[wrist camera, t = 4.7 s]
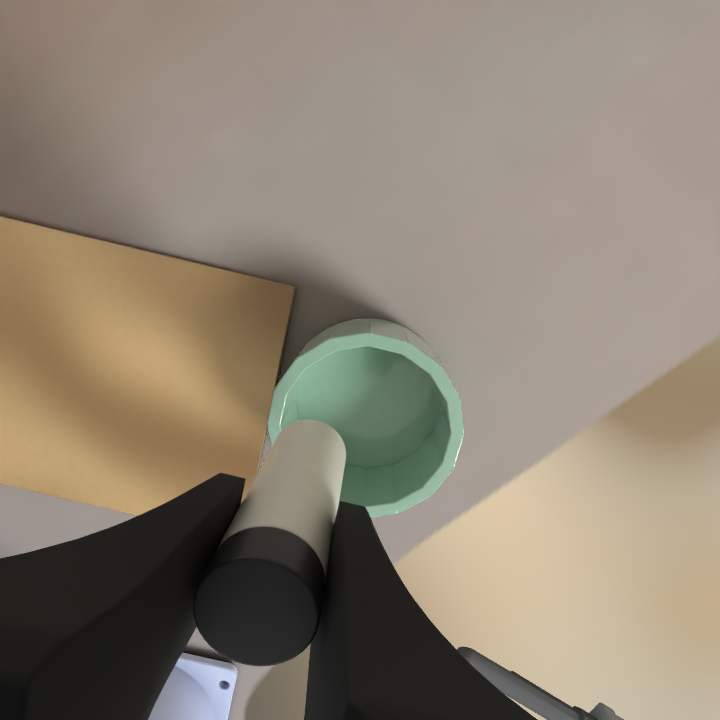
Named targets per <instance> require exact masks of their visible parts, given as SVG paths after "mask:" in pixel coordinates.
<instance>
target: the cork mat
mask: <svg viewBox="0 0 720 720" xmlns="http://www.w3.org/2000/svg"><path fill="white" fill-rule="evenodd" d="M295 288H296V287H295V286H292V285H288V284H284V283H280V282H276V281H271V280H267V279H263V278H259V277H255V276H250V275H246V274H242V273H238V272H234V271H229V270H225V269H221V268H217V267H213V266H209V265H204V264H200V263H196V262H192V261H188V260H183V259H179V258H175V257H171V256H167V255H162V254H158V253H154V252H150V251H146V250H142V249H137V248H133V247H129V246H125V245H121V244H116V243H112V242H108V241H104V240H100V239H95V238H91V237H87V236H83V235H79V234H75V233H70V232H66V231H62V230H58V229H54V228H49V227H45V226H41V225H37V224H33V223H28V222H24V221H20V220H16V219H12V218H8V217H3V216H0V484H4V485H8V486H12V487H17V488H21V489H25V490H30V491H34V492H38V493H43V494H47V495H51V496H56V497H60V498H64V499H69V500H73V501H77V502H82V503H86V504H90V505H95V506H99V507H103V508H108V509H112V510H116V511H121V512H125V513H130V514H134V515H138V516H139V515H141V514H143V513H145V512H147V511H149V510H151V509H154V508H156V507H158V506H160V505H162V504H164V503H166V502H168V501H170V500H172V499H174V498H176V497H177V496H179V495H181V494H183V493H185V492H187V491H188V490H190V489H192V488H194V487H195V486H197V485H199V484H201V483H203V482H204V481H206V480H208V479H210V478H211V477H213V476H215V475H217V474H219V473H224V474H229V475H233V476H237V477H241V478H246V480H245V485H244V490H243V495H242V500H241V503H242V501H243V499H244V498H245V496H246V494H247V492H248V490H249V488H250V486H251V485H252V483H253V481H254V479H255V477H256V475H257V473H258V471H259V466H260V462H261V457H262V452H263V447H264V442H265V437H266V432H267V422H268V417H269V412H270V407H271V402H272V397H273V392H274V390H275V387H276V382H277V377H278V372H279V367H280V362H281V358H282V353H283V348H284V343H285V338H286V333H287V328H288V323H289V318H290V313H291V308H292V303H293V298H294V293H295Z"/></svg>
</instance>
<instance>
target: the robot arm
mask: <svg viewBox="0 0 720 720" xmlns="http://www.w3.org/2000/svg"><path fill="white" fill-rule="evenodd" d="M245 480H246V478H241V477H237V476H233V475H229V474H224V473H219V474H217V475H215V476H213V477H211V478H210V479H208V480H206V481H204V482H203V483H201V484H199V485H197V486H195V487H194V488H192V489H190V490H188V491H187V492H185V493H183V494H181V495H179V496H177V497H176V498H174V499H172V500H170V501H168V502H166V503H164V504H162V505H160V506H158V507H156V508H154V509H151V510H149V511H147V512H145V513H143V514H141V515H139V516H136V517H134V518H132V519H130V520H128V521H125V522H123V523H120V524H118V525H115V526H113V527H110V528H108V529H105V530H102V531H99V532H96V533H94V534H91V535H88V536H85V537H82V538H79V539H76V540H72V541H68V542H65V543H61V544H57V545H54V546H50V547H47V548H43V549H39V550H36V551H32V552H28V553H24V554H19V555H15V556H10V557H5V558H1V559H0V720H228V716H229V711H230V706H231V702H232V697H233V692H234V687H235V683H236V678H237V673H238V672H237V668H236V667H235V666H234V665H233V664H231V663H227V662H223V661H218V660H214V659H210V658H205V657H201V656H196V655H192V654H187V653H183V650H184V649H185V647H186V645H187V643H188V641H189V640H190V638H191V636H192V634H193V632H194V630H195V629H196V627H197V625H196V622H195V619H194V614H193V599H194V594H195V590H196V588H197V585H198V583H199V581H200V579H201V578H202V576H203V574H204V572H205V570H206V568H207V566H208V565H209V563H210V561H211V559H212V557H213V555H214V553H215V552H216V550H217V548H218V546H219V544H220V542H221V540H222V539H223V537H224V535H225V533H226V531H227V529H228V527H229V526H230V524H231V522H232V520H233V518H234V516H235V514H236V513H237V511H238V509H239V507H240V505H241V500H242V495H243V490H244V485H245ZM223 681H226V682H223ZM304 720H537V719H536V718H534V717H533V716H532V715H531V714H529V713H528V712H527V711H525V710H524V709H523V708H521V707H520V706H519V705H518V704H516V703H515V702H514V701H512V700H511V699H510V698H508V697H507V696H506V695H505V694H503V693H502V692H501V691H500V690H499V689H498V688H496V687H495V686H494V685H493V684H492V683H491V682H490V681H489V680H488V679H486V678H485V677H484V676H483V675H482V674H481V673H480V672H479V671H477V670H476V669H475V668H474V667H473V666H472V665H471V664H470V663H469V662H468V661H467V660H466V659H465V658H464V657H463V656H462V655H461V654H460V653H459V652H458V651H457V650H456V649H455V648H454V647H453V646H452V645H451V643H450V642H449V641H448V640H447V639H446V638H445V637H444V636H443V635H442V634H441V633H440V631H439V630H438V629H437V628H436V627H435V626H434V625H433V623H432V622H431V621H430V620H429V619H428V617H427V616H426V614H425V613H424V612H423V611H422V609H421V608H420V607H419V605H418V604H417V603H416V602H415V600H414V599H413V597H412V596H411V594H410V593H409V592H408V590H407V588H406V587H405V585H404V584H403V582H402V580H401V579H400V577H399V575H398V574H397V572H396V570H395V568H394V567H393V565H392V563H391V561H390V559H389V557H388V555H387V553H386V551H385V549H384V547H383V545H382V543H381V541H380V539H379V537H378V535H377V532H376V530H375V528H374V525H373V523H372V520H371V518H370V515H369V512H368V511H367V509H366V507H365V506H360V505H356V504H352V503H348V502H343V501H340V502H339V506H338V510H337V514H336V518H335V522H334V527H333V533H332V539H331V545H330V551H329V563H328V572H327V579H326V585H325V592H324V598H323V604H322V611H321V617H320V623H319V627H318V630H317V633H316V635H315V637H314V639H313V640H312V641H311V647H310V660H309V670H308V682H307V695H306V706H305V716H304Z"/></svg>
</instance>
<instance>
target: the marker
mask: <svg viewBox="0 0 720 720" xmlns="http://www.w3.org/2000/svg"><path fill="white" fill-rule="evenodd" d="M345 461H346V449H345V445H344V442H343V440H342V438H341V436H340V435H339V434H338V432H337V431H336V430H335V429H333V428H332V427H331V426H329V425H328V424H326V423H324V422H321V421H318V420H311V419H305V420H299V421H296V422H293V423H291V424H289V425H288V426H286V427H285V428H284V429H283V430H282V431H281V432H280V433H279V435H278V436H277V438H276V440H275V442H274V444H273V446H272V447H271V449H270V451H269V453H268V455H267V457H266V459H265V460H264V462H263V464H262V466H261V468H260V470H259V472H258V473H257V475H256V477H255V479H254V481H253V483H252V485H251V486H250V488H249V490H248V492H247V494H246V496H245V498H244V499H243V501H242V503H241V505H240V507H239V509H238V511H237V513H236V514H235V516H234V518H233V520H232V522H231V524H230V526H229V527H228V529H227V531H226V533H225V535H224V537H223V539H222V540H221V542H220V544H219V546H218V548H217V550H216V552H215V553H214V555H213V557H212V559H211V561H210V563H209V565H208V566H207V568H206V570H205V572H204V574H203V576H202V578H201V579H200V581H199V583H198V585H197V588H196V590H195V594H194V599H193V614H194V619H195V622H196V625H197V628H198V630H199V632H200V633H201V635H202V636H203V638H204V639H205V641H206V642H207V643H208V644H209V645H210V646H211V647H212V648H213V649H214V650H216V651H217V652H218V653H220V654H221V655H223V656H225V657H226V658H228V659H230V660H233V661H235V662H238V663H241V664H245V665H251V666H271V665H277V664H280V663H283V662H286V661H288V660H291V659H292V658H294V657H296V656H297V655H299V654H300V653H301V652H303V650H305V649H306V648H307V646H308V645H309V644H310V643H311V641H312V640H313V639H314V637H315V635H316V633H317V630H318V627H319V623H320V617H321V611H322V604H323V598H324V592H325V585H326V579H327V572H328V563H329V551H330V545H331V539H332V533H333V527H334V522H335V518H336V514H337V510H338V505H339V498H340V492H341V486H342V480H343V473H344V467H345Z"/></svg>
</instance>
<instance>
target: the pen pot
mask: <svg viewBox="0 0 720 720" xmlns="http://www.w3.org/2000/svg"><path fill="white" fill-rule="evenodd" d="M305 419H311V420H318V421H321V422H324V423H326V424H328V425H329V426H331V427H332V428H333V429H335V430H336V431H337V432H338V434H339V435H340V436H341V438H342V440H343V442H344V445H345V449H346V461H345V467H344V473H343V480H342V486H341V492H340V498H339V502H340V501H343V502H348V503H352V504H356V505H360V506H365V507H366V509H367V511H368V512H369V515H370V517H378V516H386V515H393V514H398V513H401V512H403V511H405V510H406V509H408V508H410V507H412V506H414V505H416V504H418V503H420V502H421V501H423V500H425V499H427V498H429V497H430V496H431V495H432V494H433V493H434V492H435V491H436V490H437V488H438V487H439V486H440V485H441V484H442V482H443V481H444V480H445V479H446V478H447V476H448V475H449V474H450V473H451V472H452V470H453V468H454V467H455V464H456V460H457V457H458V454H459V451H460V447H461V444H462V441H463V437H464V425H463V417H462V409H461V401H460V397H459V395H458V393H457V391H456V389H455V387H454V385H453V383H452V381H451V379H450V377H449V376H448V374H447V372H446V370H445V369H444V367H443V365H442V364H441V362H440V360H439V358H438V357H437V355H436V354H435V352H434V350H433V349H432V347H431V346H430V345H429V344H427V343H426V342H425V341H424V340H423V339H422V338H421V337H419V336H418V335H417V334H416V333H414V332H412V331H411V330H409V329H408V328H406V327H403V326H401V325H399V324H397V323H393V322H390V321H387V320H381V319H372V318H362V319H353V320H349V321H344V322H341V323H338V324H336V325H333V326H331V327H329V328H328V329H326V330H324V331H322V332H321V333H320V334H318V335H317V336H315V337H314V338H313V339H311V340H310V341H309V342H307V344H306V345H305V347H304V348H303V349H302V351H301V352H300V353H299V355H298V356H297V357H296V359H295V360H294V362H293V363H292V364H291V366H290V367H289V369H288V370H287V372H286V373H285V374H284V376H283V377H282V379H281V380H280V381H279V383H278V384H277V386H276V387H275V390H274V392H273V397H272V402H271V407H270V412H269V417H268V422H267V428H268V432H269V437H270V441H271V446H273V444H274V442H275V440H276V438H277V436H278V435H279V433H280V432H281V431H282V430H283V429H284V428H285V427H286V426H288V425H289V424H291V423H293V422H296V421H299V420H305ZM338 506H339V505H338Z"/></svg>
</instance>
